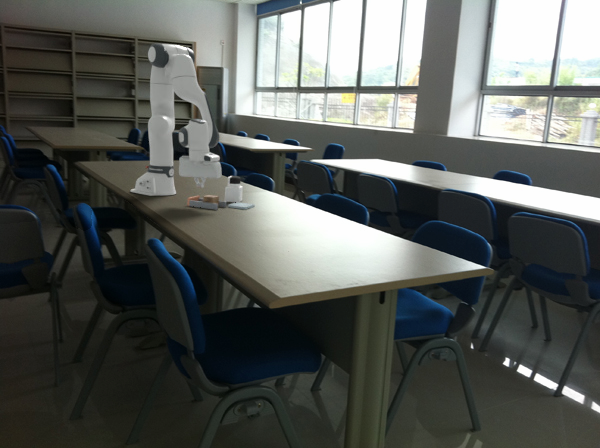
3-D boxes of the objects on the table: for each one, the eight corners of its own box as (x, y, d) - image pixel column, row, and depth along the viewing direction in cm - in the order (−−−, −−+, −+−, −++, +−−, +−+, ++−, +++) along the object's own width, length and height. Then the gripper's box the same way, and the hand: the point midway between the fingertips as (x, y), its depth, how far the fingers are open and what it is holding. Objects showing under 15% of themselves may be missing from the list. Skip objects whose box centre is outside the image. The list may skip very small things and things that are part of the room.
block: (203, 207, 231) (203, 196, 230) (208, 205, 236) (209, 194, 235) (212, 208, 229) (213, 197, 228) (218, 207, 234) (218, 196, 233)
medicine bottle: (242, 200, 254) (243, 176, 251) (239, 202, 247) (240, 177, 244) (228, 199, 254) (228, 175, 252) (224, 201, 247) (225, 176, 245)
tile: (227, 207, 234) (227, 204, 234) (237, 204, 243) (237, 202, 242) (245, 209, 231) (245, 207, 231) (254, 206, 240) (254, 204, 239)
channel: (187, 205, 232) (187, 198, 231) (197, 203, 240) (198, 195, 239) (216, 209, 227) (216, 201, 226) (226, 207, 234) (226, 199, 234)
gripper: (175, 155, 230) (176, 186, 233) (215, 158, 223) (216, 189, 226) (183, 154, 236) (184, 184, 239) (223, 156, 229) (223, 187, 232)
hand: (200, 187), depth 233 cm, fingers closed
